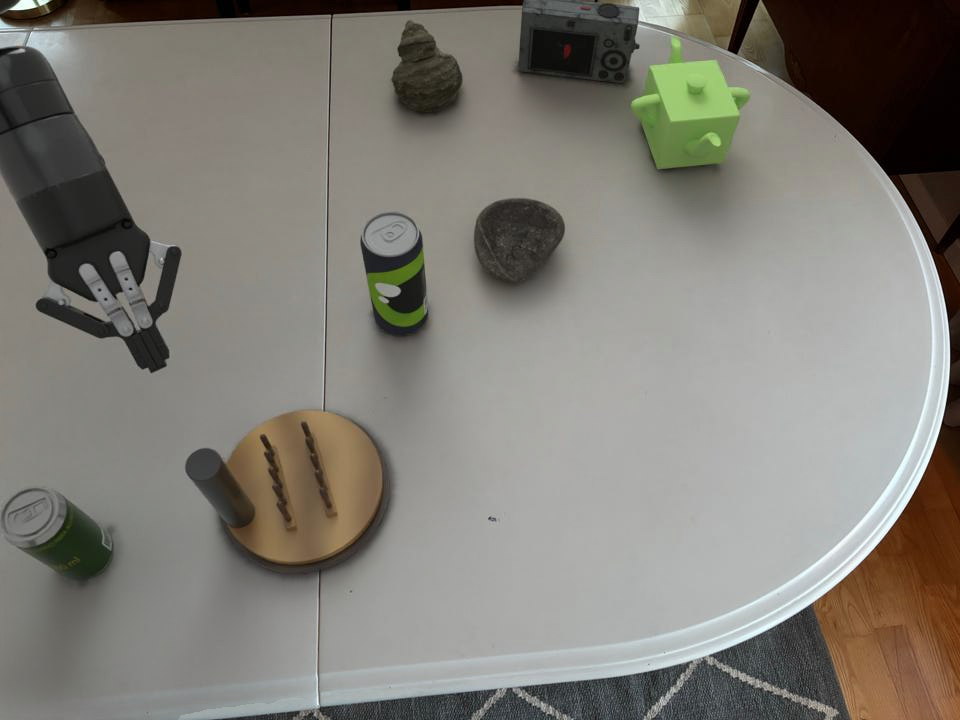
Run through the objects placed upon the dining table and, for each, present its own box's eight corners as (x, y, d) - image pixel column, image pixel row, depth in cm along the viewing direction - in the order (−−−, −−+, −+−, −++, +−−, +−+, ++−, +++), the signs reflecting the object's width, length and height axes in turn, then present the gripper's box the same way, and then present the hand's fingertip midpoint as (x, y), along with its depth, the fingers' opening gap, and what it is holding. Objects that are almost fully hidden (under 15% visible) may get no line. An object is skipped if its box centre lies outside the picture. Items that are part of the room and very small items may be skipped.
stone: (561, 293, 93) (566, 268, 89) (471, 289, 93) (471, 263, 89) (561, 220, 99) (565, 192, 95) (476, 216, 99) (476, 188, 95)
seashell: (466, 20, 109) (394, 16, 109) (464, 26, 99) (384, 22, 98) (464, 105, 114) (394, 102, 114) (461, 119, 104) (385, 116, 103)
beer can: (103, 517, 79) (47, 471, 69) (125, 561, 77) (71, 519, 66) (50, 548, 77) (-15, 505, 67) (71, 593, 75) (7, 556, 65)
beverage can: (400, 285, 94) (389, 199, 81) (439, 314, 92) (434, 230, 79) (363, 318, 91) (345, 235, 78) (402, 349, 89) (391, 268, 76)
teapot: (658, 92, 111) (675, 26, 102) (746, 130, 107) (772, 65, 98) (606, 158, 104) (619, 94, 95) (699, 201, 101) (721, 138, 92)
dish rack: (240, 588, 74) (198, 545, 63) (209, 442, 82) (166, 380, 70) (403, 532, 77) (391, 481, 66) (358, 395, 85) (341, 328, 73)
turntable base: (239, 599, 75) (236, 596, 74) (207, 444, 83) (203, 440, 82) (410, 539, 78) (409, 535, 77) (363, 396, 86) (362, 390, 85)
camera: (634, 67, 114) (647, 5, 105) (632, 86, 112) (645, 24, 103) (521, 54, 115) (525, -9, 106) (517, 72, 113) (521, 10, 104)
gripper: (-33, 212, 60) (81, 411, 65) (137, 150, 64) (233, 343, 69) (-13, 213, 67) (89, 392, 72) (140, 156, 70) (227, 331, 76)
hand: (159, 368), depth 70 cm, fingers closed
